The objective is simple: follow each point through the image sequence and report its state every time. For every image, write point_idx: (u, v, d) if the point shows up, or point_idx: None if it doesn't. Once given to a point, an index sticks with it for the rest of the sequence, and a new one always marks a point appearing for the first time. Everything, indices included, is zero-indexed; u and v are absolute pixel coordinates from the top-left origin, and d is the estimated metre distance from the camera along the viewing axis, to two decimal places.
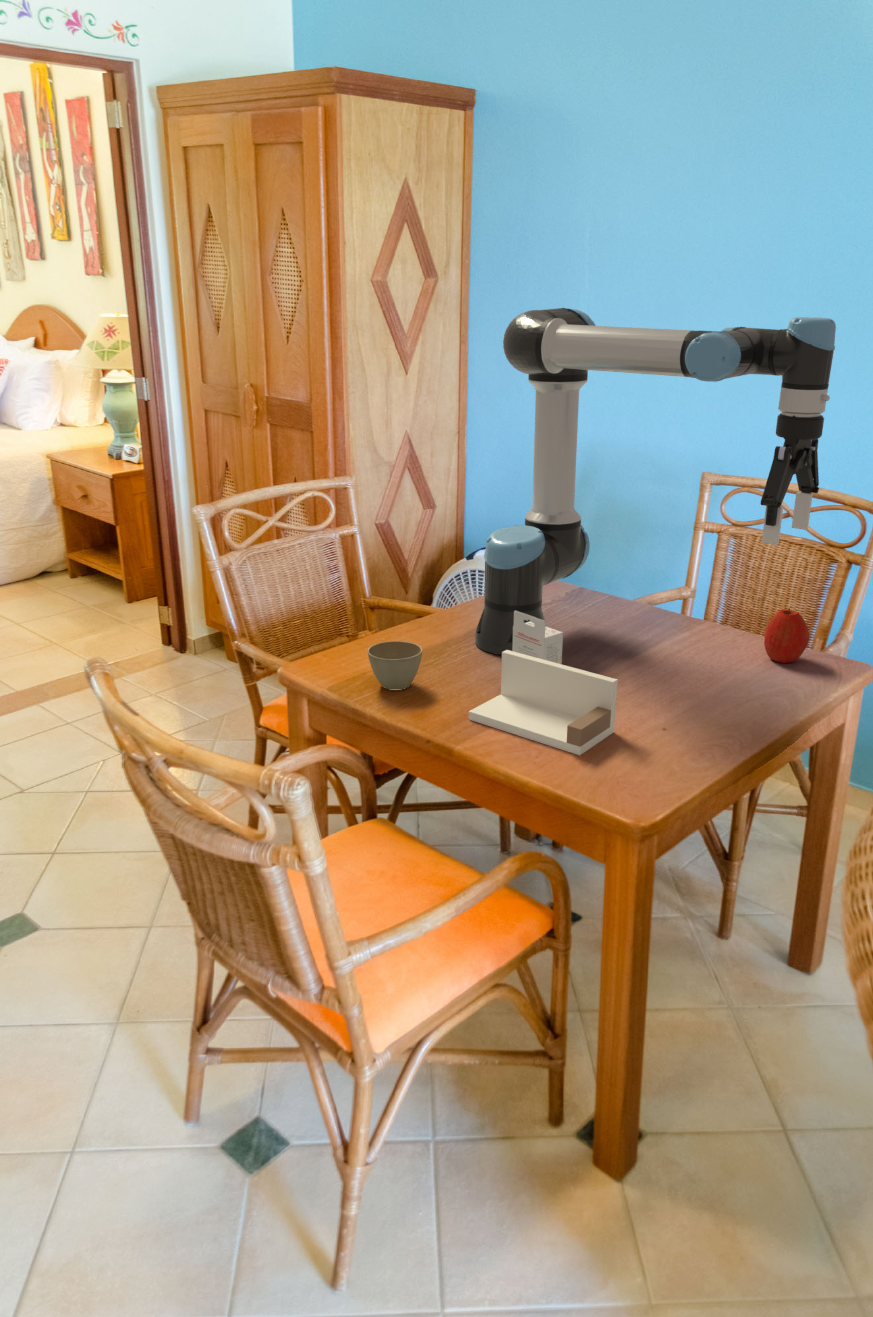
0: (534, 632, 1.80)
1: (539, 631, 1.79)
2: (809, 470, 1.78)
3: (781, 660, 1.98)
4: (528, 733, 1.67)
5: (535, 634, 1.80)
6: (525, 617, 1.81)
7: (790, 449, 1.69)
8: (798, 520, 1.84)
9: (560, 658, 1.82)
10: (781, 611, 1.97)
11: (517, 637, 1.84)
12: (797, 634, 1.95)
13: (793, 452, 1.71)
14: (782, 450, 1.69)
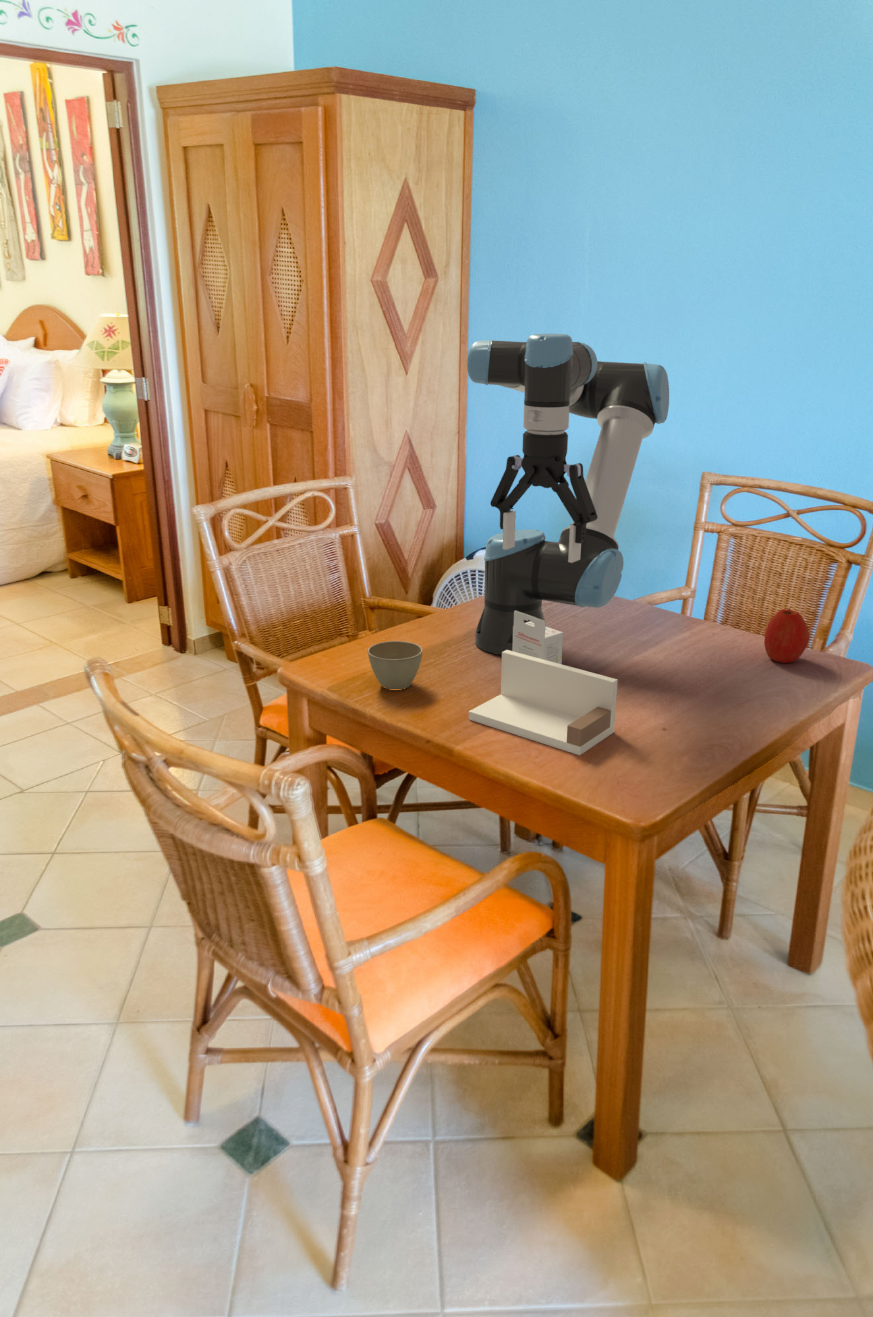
0: (534, 632, 1.80)
1: (539, 631, 1.79)
2: (561, 495, 1.70)
3: (781, 660, 1.98)
4: (528, 733, 1.67)
5: (535, 634, 1.80)
6: (525, 617, 1.81)
7: (509, 458, 1.74)
8: None
9: (560, 658, 1.82)
10: (781, 611, 1.97)
11: (518, 637, 1.83)
12: (797, 634, 1.95)
13: (521, 464, 1.73)
14: None
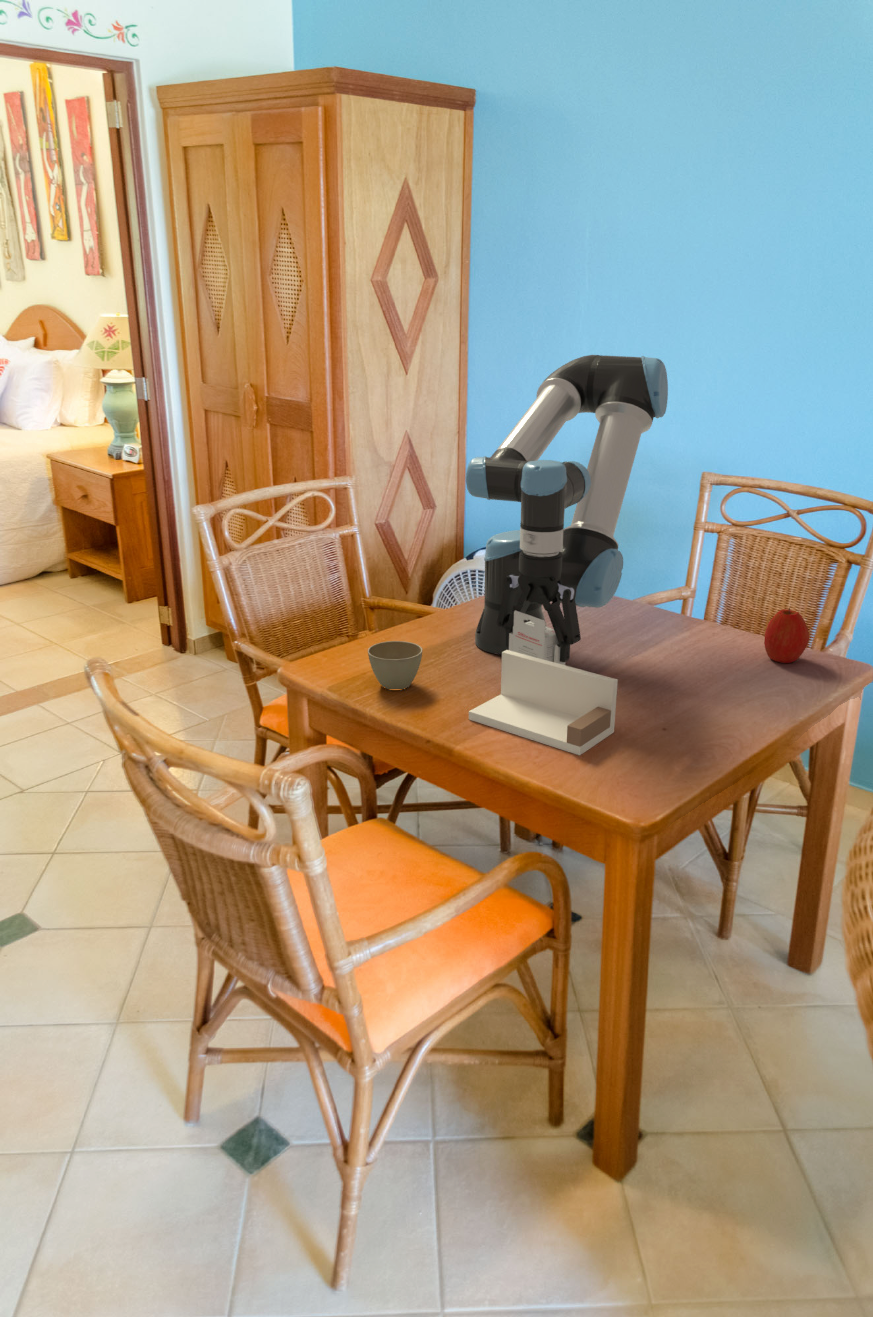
0: (534, 632, 1.80)
1: (539, 631, 1.79)
2: (551, 615, 1.78)
3: (781, 660, 1.98)
4: (528, 733, 1.67)
5: (535, 634, 1.80)
6: (525, 617, 1.81)
7: (506, 578, 1.82)
8: None
9: None
10: (781, 611, 1.97)
11: (517, 637, 1.83)
12: (797, 634, 1.95)
13: (518, 582, 1.81)
14: None
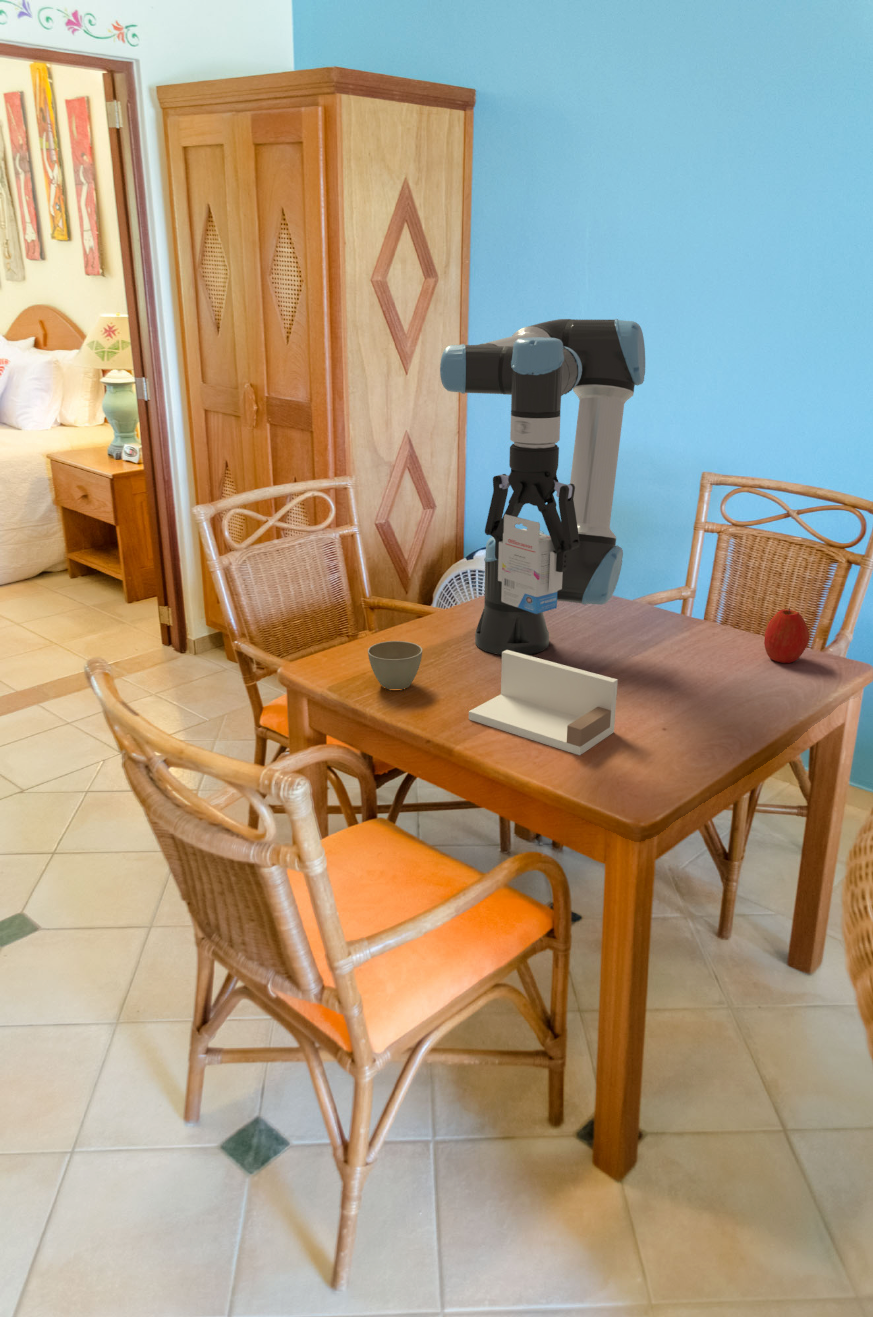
0: (527, 537, 1.58)
1: (532, 535, 1.57)
2: (546, 517, 1.56)
3: (781, 660, 1.98)
4: (528, 733, 1.67)
5: (528, 539, 1.58)
6: (516, 521, 1.59)
7: (495, 477, 1.60)
8: None
9: None
10: (781, 611, 1.97)
11: (508, 545, 1.61)
12: (797, 634, 1.95)
13: (508, 481, 1.59)
14: None
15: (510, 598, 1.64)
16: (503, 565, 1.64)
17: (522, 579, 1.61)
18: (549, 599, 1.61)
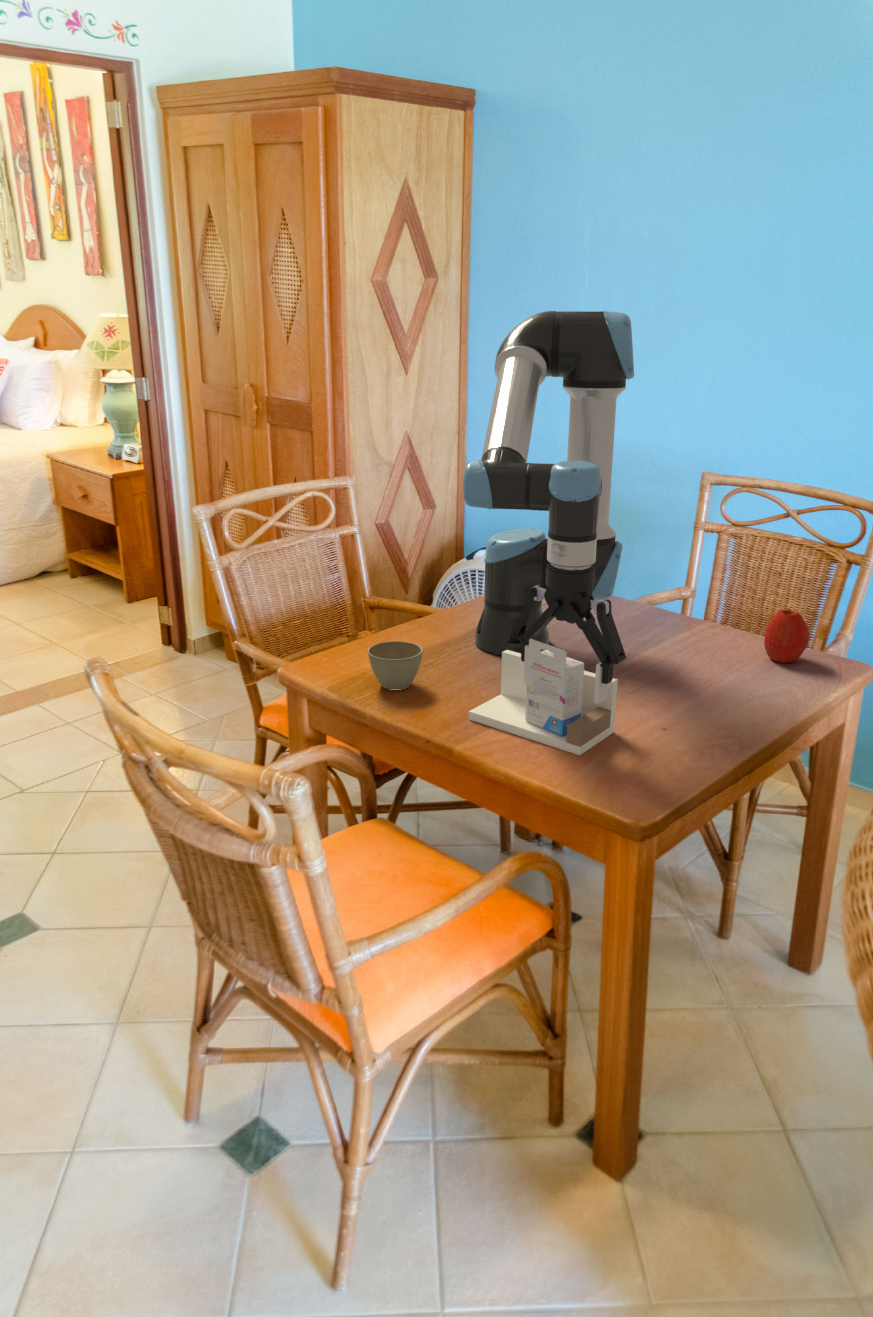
0: (553, 663, 1.61)
1: (558, 662, 1.61)
2: (587, 633, 1.58)
3: (781, 660, 1.98)
4: (528, 733, 1.67)
5: (554, 665, 1.61)
6: (542, 646, 1.62)
7: (531, 589, 1.62)
8: None
9: (581, 691, 1.64)
10: (781, 611, 1.97)
11: (533, 668, 1.65)
12: (797, 634, 1.95)
13: (544, 596, 1.61)
14: None
15: (534, 718, 1.68)
16: (528, 686, 1.67)
17: (548, 702, 1.64)
18: None
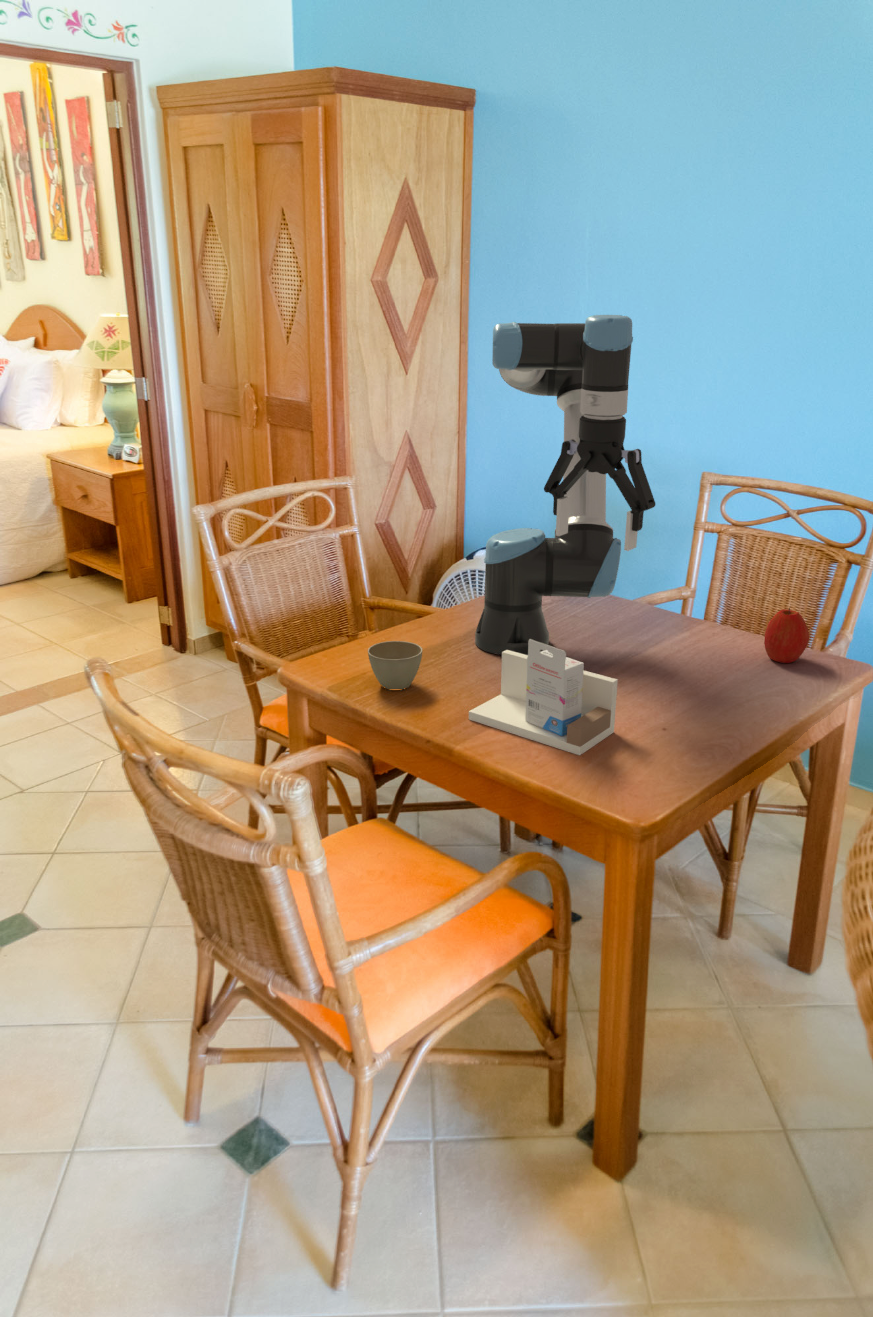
0: (552, 663, 1.61)
1: (558, 662, 1.61)
2: (618, 482, 1.66)
3: (781, 660, 1.98)
4: (528, 733, 1.67)
5: (553, 665, 1.61)
6: (542, 647, 1.62)
7: (564, 443, 1.70)
8: None
9: (580, 691, 1.64)
10: (781, 611, 1.97)
11: (533, 669, 1.65)
12: (797, 634, 1.95)
13: (577, 449, 1.69)
14: None
15: (534, 718, 1.68)
16: (527, 687, 1.67)
17: (547, 702, 1.64)
18: None
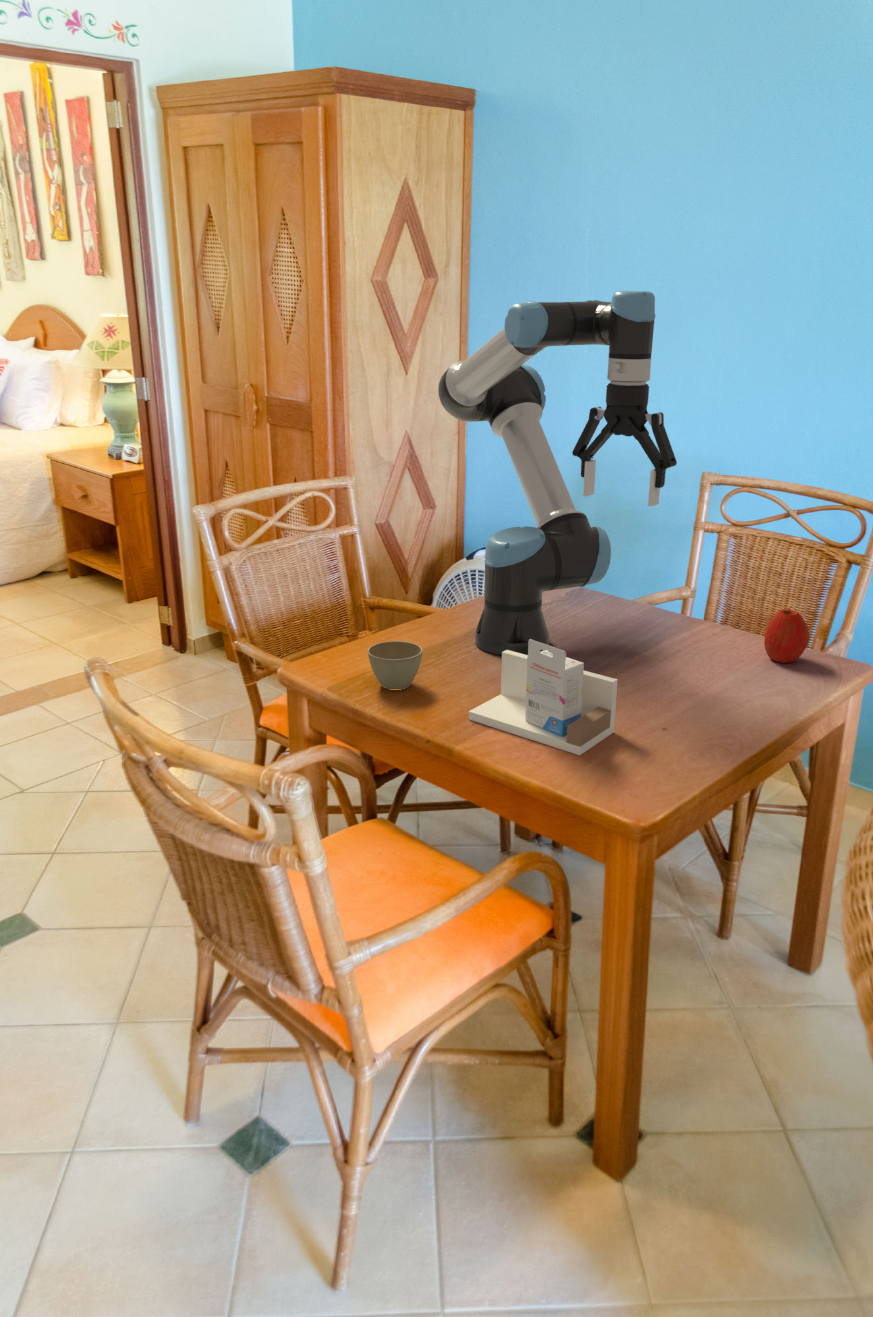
0: (552, 663, 1.61)
1: (558, 662, 1.61)
2: (642, 443, 1.82)
3: (781, 660, 1.98)
4: (528, 733, 1.67)
5: (553, 665, 1.61)
6: (542, 647, 1.62)
7: (592, 409, 1.86)
8: None
9: (580, 691, 1.64)
10: (781, 611, 1.97)
11: (533, 669, 1.65)
12: (797, 634, 1.95)
13: (604, 415, 1.85)
14: None
15: (534, 718, 1.68)
16: (527, 687, 1.67)
17: (547, 702, 1.64)
18: None
